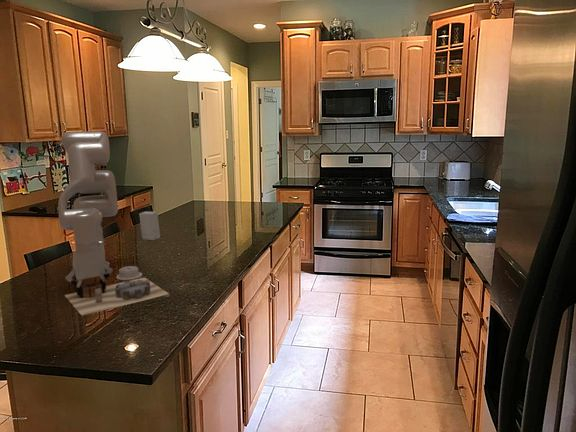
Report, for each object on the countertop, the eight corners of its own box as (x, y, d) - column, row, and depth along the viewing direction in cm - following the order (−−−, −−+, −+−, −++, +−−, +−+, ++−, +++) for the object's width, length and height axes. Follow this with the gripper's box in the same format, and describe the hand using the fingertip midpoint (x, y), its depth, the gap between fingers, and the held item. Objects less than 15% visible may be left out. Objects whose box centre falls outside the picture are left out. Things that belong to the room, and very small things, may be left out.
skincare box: (160, 238, 255) (158, 211, 252) (153, 240, 249) (151, 213, 247) (148, 236, 258) (146, 210, 255) (140, 239, 253) (138, 212, 250)
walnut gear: (79, 293, 169) (78, 284, 169) (99, 289, 173) (98, 280, 173) (84, 299, 164) (83, 290, 163) (104, 294, 168) (103, 285, 167)
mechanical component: (147, 277, 190) (133, 273, 196) (146, 267, 189) (132, 263, 195) (125, 284, 182) (111, 279, 188) (124, 273, 181) (110, 269, 187)
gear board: (64, 297, 169) (62, 283, 168) (145, 279, 187) (143, 266, 185) (82, 318, 150) (80, 302, 149) (169, 296, 168) (168, 282, 167)
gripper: (108, 240, 173) (112, 286, 177) (57, 249, 163) (63, 296, 166) (115, 244, 167) (119, 291, 171) (62, 253, 157) (68, 303, 160)
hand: (91, 293), depth 169 cm, fingers closed on walnut gear, 7 cm apart
